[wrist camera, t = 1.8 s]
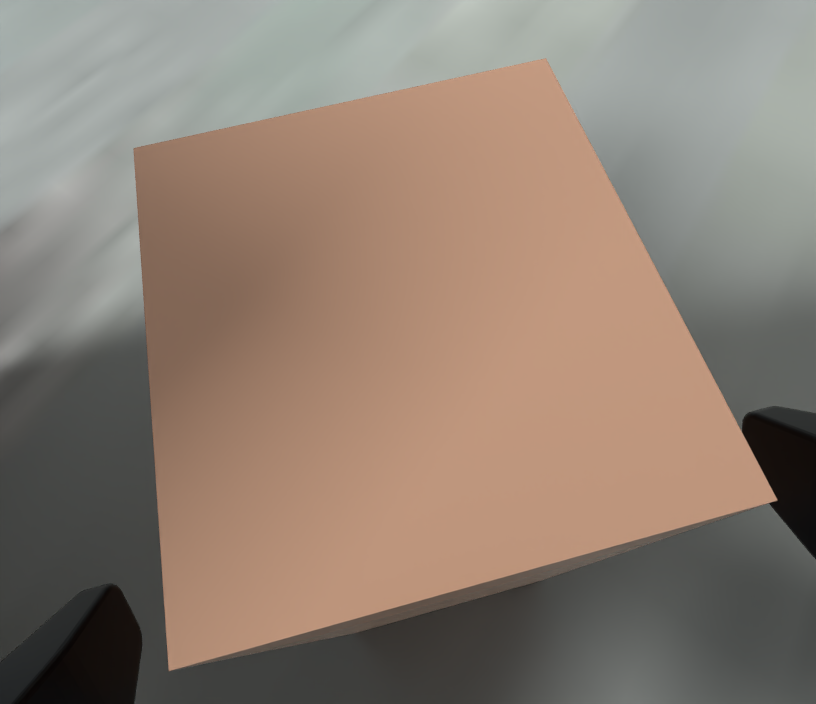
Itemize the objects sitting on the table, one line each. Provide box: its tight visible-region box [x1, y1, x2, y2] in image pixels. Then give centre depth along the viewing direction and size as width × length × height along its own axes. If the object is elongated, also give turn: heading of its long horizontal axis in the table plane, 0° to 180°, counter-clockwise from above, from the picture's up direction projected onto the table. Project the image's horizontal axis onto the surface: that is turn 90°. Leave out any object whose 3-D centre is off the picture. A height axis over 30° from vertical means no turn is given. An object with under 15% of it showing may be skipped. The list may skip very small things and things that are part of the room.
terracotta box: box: [134, 58, 777, 671], centre depth 12 cm, size 6×6×12 cm
